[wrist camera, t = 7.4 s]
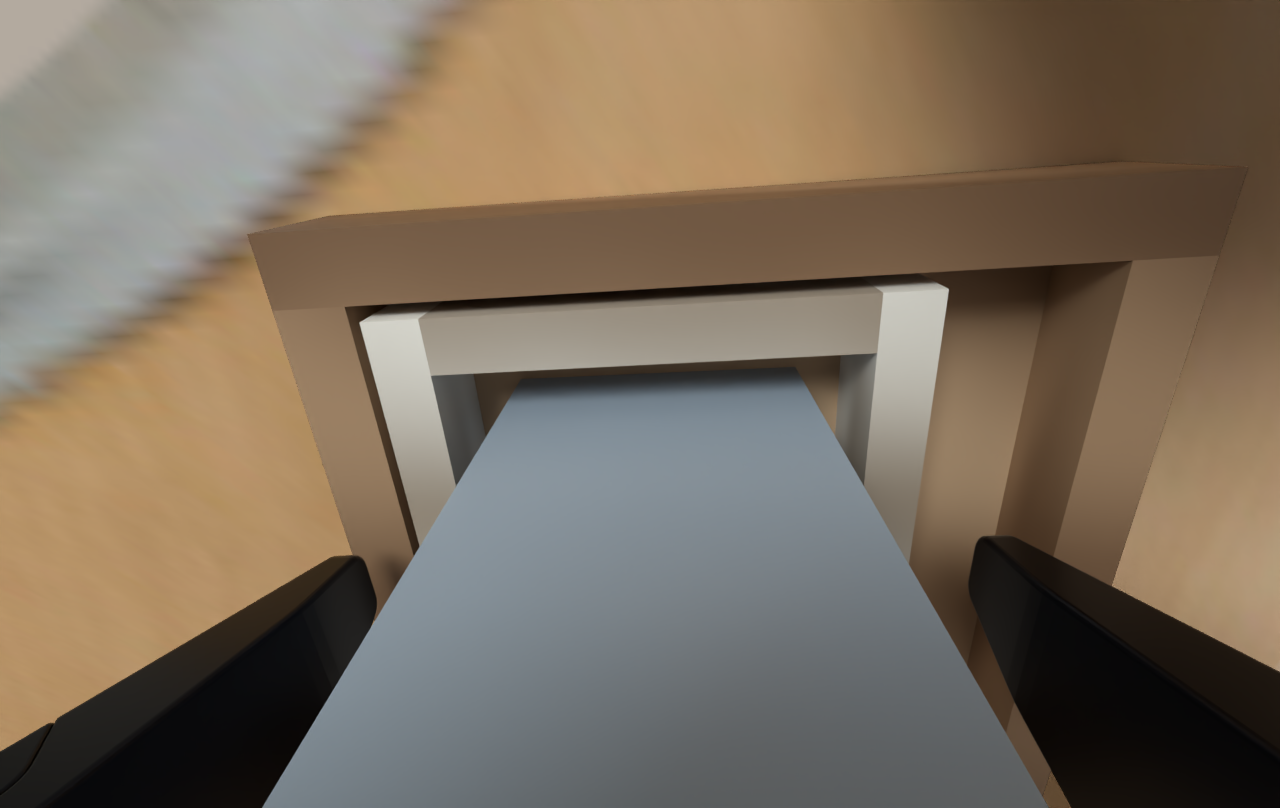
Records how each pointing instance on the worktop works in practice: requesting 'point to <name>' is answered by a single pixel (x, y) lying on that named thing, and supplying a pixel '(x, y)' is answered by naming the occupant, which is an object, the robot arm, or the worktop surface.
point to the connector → (658, 625)
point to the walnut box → (783, 344)
